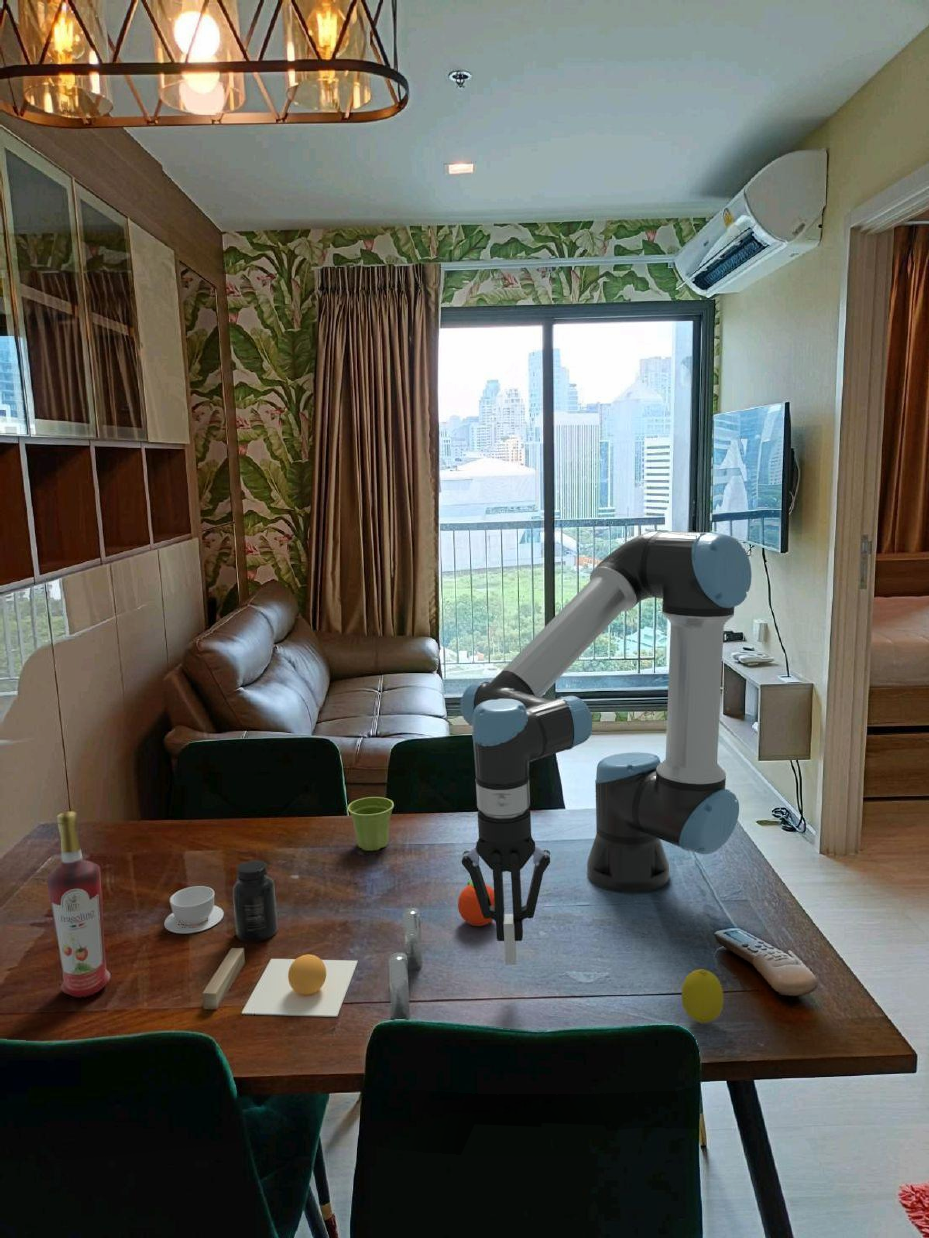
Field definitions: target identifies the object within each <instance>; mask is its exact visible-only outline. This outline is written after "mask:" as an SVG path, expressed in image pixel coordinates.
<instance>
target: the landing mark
mask: <svg viewBox="0 0 929 1238" xmlns="http://www.w3.org/2000/svg"><path fill="white" fill-rule="evenodd" d="M296 959H297V958H295V959H294V958H271V959H270V960H269V962H268V964H267V966H266V968H265V970H264V972H263V973H262V975H261V977H260V979H259V980H258V982H257V984H256V986H255V988H254V989H253V991H252V993H251V995H250V997H249V998H248V1000H247V1002H246V1004H245V1006H244V1008H243V1009H242V1011H241V1015H253V1016H254V1014H255V1015H257V1016H258V1015H259V1016H261V1015H262V1016H263V1015H264V1016H290V1017H323V1018H325V1017H326V1018H327V1017H328V1018H331V1017H332V1018H337V1017H338V1016H339V1013H340V1011H341V1008H342V1005H343V1002H344V1000H345V997H346V994H347V992H348V990H349V987H350V984H351V981H352V980H353V977H354V974H355V971H356V968H357V966H358V962H359V961H358V960H344V959H343V960H341V959H340V960H339V959H336V960H335V959H321V960H322V961H323V963H324V965H325V967H326V979H325V982H324V984H323V986H322V987H321V988H320V989H319V990H318V991H317V992H315V993H313V994H310V995H302V994H299V993H297V992H295V991H294V990H293V989H292V987H291V986H290V983H289V980H288V972H289V968H290V966H291V964H292V963H293V962H294V961H295V960H296Z"/></svg>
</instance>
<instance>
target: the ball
mask: <svg viewBox="0 0 929 1238" xmlns="http://www.w3.org/2000/svg"><path fill="white" fill-rule="evenodd" d="M295 959H296V960H295V961H294V962H293V963H292V964H291V966H290V968H289V972H288V980H289V983H290V986H291V987H292V989H293V990H294V991H295V992H297V993H299V994H302V995H310V994H313V993H315V992H317V991H318V990H319V989H320V988H321V987H322V986H323V984H324V982H325V979H326V967H325V965H324V963H323V961H322V960H323V959H321V958H320V957H319V956H317V955H314V954H310V953H309V954H303V955H301V956H299V957H297V958H295Z"/></svg>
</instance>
